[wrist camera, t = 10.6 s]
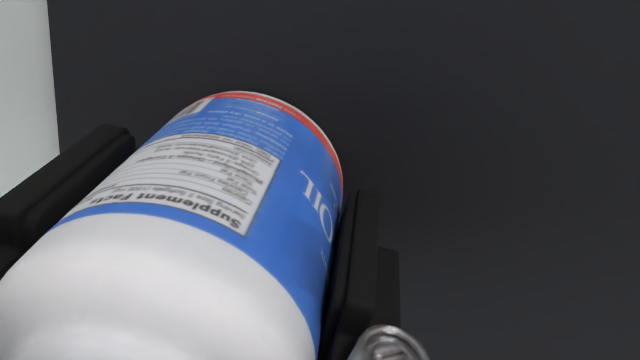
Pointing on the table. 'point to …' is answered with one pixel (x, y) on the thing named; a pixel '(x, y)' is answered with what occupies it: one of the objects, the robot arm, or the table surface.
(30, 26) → the table surface
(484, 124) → the desk mat
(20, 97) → the table surface
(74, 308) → the pill bottle
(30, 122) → the table surface
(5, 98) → the table surface
